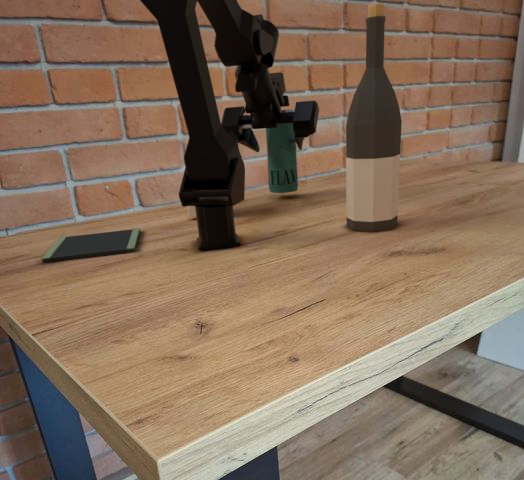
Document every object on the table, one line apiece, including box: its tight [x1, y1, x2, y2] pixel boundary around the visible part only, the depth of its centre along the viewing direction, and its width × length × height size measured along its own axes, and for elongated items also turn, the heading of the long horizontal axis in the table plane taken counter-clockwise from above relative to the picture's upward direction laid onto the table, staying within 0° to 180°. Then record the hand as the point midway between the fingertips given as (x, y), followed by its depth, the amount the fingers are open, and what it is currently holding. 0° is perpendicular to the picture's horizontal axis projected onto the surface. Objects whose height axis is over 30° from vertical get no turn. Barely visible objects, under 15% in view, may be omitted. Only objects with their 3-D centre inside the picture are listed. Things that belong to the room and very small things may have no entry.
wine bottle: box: [345, 3, 403, 233], centre depth 76 cm, size 8×8×30 cm
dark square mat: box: [41, 227, 141, 263], centre depth 85 cm, size 14×14×1 cm
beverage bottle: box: [265, 94, 299, 194], centre depth 106 cm, size 6×7×20 cm
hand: (279, 149), depth 105 cm, fingers open, 9 cm apart
